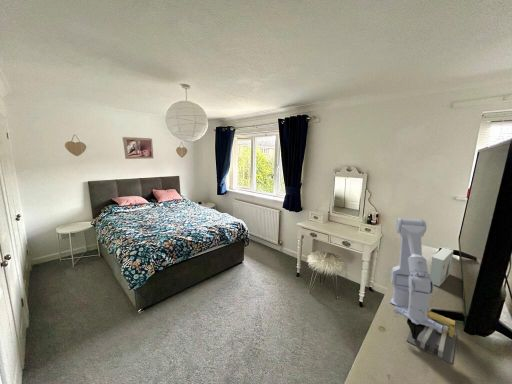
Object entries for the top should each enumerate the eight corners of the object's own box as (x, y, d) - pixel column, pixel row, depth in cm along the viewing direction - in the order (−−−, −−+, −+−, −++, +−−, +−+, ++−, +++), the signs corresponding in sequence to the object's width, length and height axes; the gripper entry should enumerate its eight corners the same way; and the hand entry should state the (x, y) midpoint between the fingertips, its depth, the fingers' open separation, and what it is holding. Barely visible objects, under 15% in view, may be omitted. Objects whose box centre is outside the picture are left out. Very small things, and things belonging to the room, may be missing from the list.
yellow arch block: (425, 321, 90) (426, 309, 89) (453, 333, 83) (455, 321, 83) (424, 325, 88) (425, 313, 87) (452, 337, 81) (454, 325, 81)
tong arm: (429, 330, 85) (430, 325, 85) (436, 333, 83) (437, 328, 83) (420, 346, 78) (420, 341, 78) (427, 350, 76) (428, 345, 76)
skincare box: (440, 287, 114) (443, 260, 111) (428, 283, 118) (430, 256, 116) (450, 274, 126) (453, 249, 124) (439, 270, 130) (441, 246, 128)
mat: (416, 316, 93) (416, 316, 93) (456, 333, 84) (456, 333, 84) (406, 341, 81) (406, 340, 81) (451, 364, 72) (452, 363, 72)
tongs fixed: (436, 327, 87) (436, 322, 87) (447, 332, 84) (448, 326, 84) (429, 351, 76) (430, 345, 76) (442, 358, 74) (442, 351, 73)
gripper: (392, 301, 82) (390, 332, 84) (442, 321, 71) (438, 356, 73) (397, 293, 87) (395, 323, 89) (444, 311, 76) (440, 344, 78)
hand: (414, 337), depth 81 cm, fingers closed
